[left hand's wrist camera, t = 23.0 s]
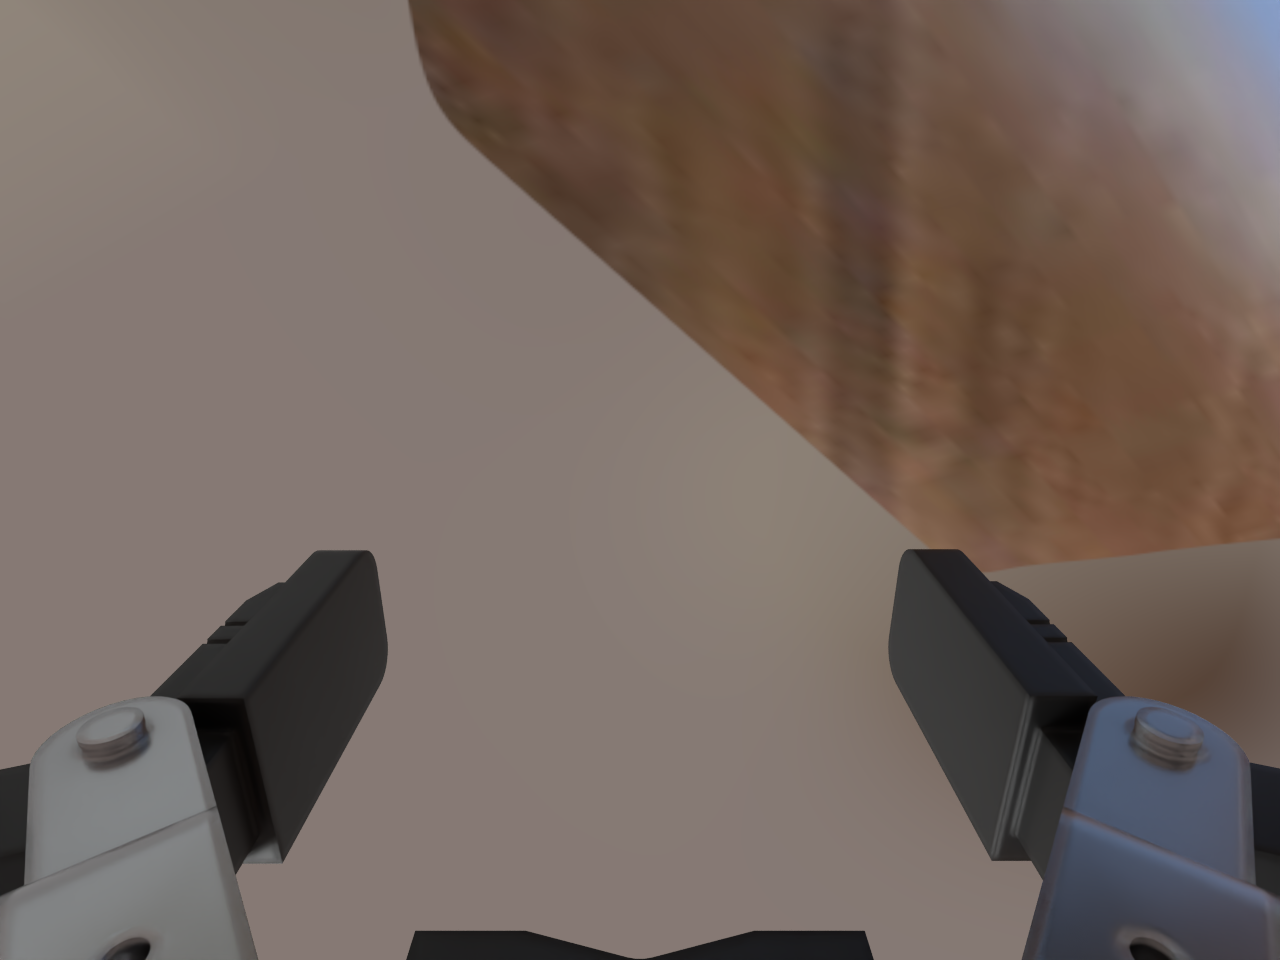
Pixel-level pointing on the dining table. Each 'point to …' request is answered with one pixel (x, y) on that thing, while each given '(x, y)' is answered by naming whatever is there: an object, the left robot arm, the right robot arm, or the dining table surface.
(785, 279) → the dining table surface
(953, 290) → the dining table surface
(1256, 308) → the dining table surface
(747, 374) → the dining table surface
